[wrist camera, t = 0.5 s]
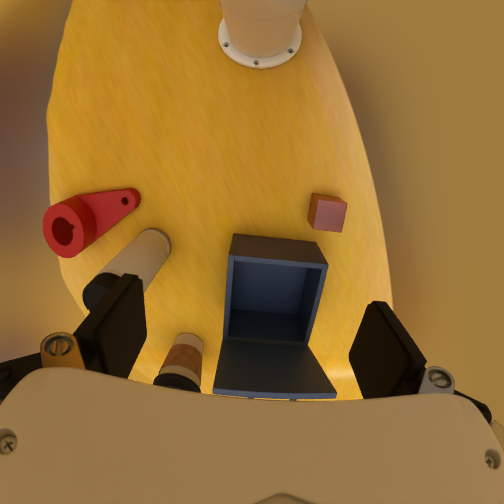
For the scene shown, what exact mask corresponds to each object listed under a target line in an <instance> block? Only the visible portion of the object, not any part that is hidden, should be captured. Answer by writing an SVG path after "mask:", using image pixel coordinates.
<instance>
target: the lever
mask: <svg viewBox="0 0 504 504" xmlns="http://www.w3.org/2000/svg"><path fill="white" fill-rule="evenodd" d="M127 198H128V200H129V202H128V201H127ZM140 199H141V198H140V194H139V192H138V191H137V190H135V189H133V188H126V189H117V190H110V191H102V192H95V193H88V194H81V195H76V196H73V197H71V198H68V199H66V200H64V201H61V202H59V203H57V204H54V205H52V206H51V207H50V208H49V209H48V210H47V211H46V213H45V215H44V219H43V232H44V236H45V239H46V241H47V243H48V245H49V247H50V248H51V249H52V250H53V251H54V252H55V253H56V254H57V255H59V256H61V257H63V258H72V257H74V256H76V255H77V254H79V253H80V252H81V251H83V250H84V249H85V248H86V247H88V246H89V245H90V244H92V243H93V242H94V241H96V240H97V239H98V238H99V237H100V236H102V235H103V234H104V233H105V232H106V231H108V230H109V229H110V228H111V227H113V226H114V225H115V224H116V223H117V222H119V221H120V220H121V219H122V218H124V217H125V216H126V215H127V214H129V213H130V212H131V211H133V210H134V209H135V208H136V207H138V205H139V204H140ZM73 224H74V225H73Z"/></svg>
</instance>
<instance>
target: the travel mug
mask: <svg viewBox="0 0 504 504" xmlns="http://www.w3.org/2000/svg"><path fill="white" fill-rule="evenodd" d="M170 252H171V243H170V240H169V238H168V237H167V235H166V234H165V233H164V232H162V231H161V230H159V229H155V228H149V229H146V230H144V231H142V232H141V233H140V234H139V235H138V236H137V237H136V238H135V239H134V240H132V241H131V242H130V243H129V244H128V245H127V246H126V247H125V248H124V249H123V250H122V251H121V252H120V253H119V254H117V255H116V256H115V257H114V258H113V259H112V260H111V261H110V262H109V263H108V264H107V265H106V266H105V267H104V268H103V269H102V270H101V271H100V272H99V273H98V274H97V275H96V276H95V277H94V279H93V280H92V281H91V282H90V283H89V284H88V285H87V286H86V287H85V288H84V290H83V295H82V296H83V302H84V305H85V306H86V308H87V310H88V309H89V311H90V312H91V311H92V310H93V309H94V307H95V306H96V305H97V304H98V303H99V301H100V300H101V299H102V298H103V297H104V296H105V294H106V293H107V292H108V291H109V290H110V289H111V287H112V286H113V285H114V284H115V283H116V282H117V281H118V279H119V278H120V277H121V276H122V275H123V274H124V273H129V274H135V275H138V276H139V279H142V281H143V292H145V291H146V289H147V288H148V286H149V285H150V283H151V281H152V280H153V278H154V277H155V275H156V274H157V272H158V271H159V269H160V268H161V266H162V265H163V264H164V262H165V261H166V259H167V258H168V256H169V255H170Z"/></svg>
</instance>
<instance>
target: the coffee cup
mask: <svg viewBox="0 0 504 504" xmlns="http://www.w3.org/2000/svg"><path fill="white" fill-rule="evenodd" d="M202 355H203V343H202V341H201V339H200V338H198V337H197V336H195V335H193V334H189V333H183V334H180V335H179V336H177V338H176V339H175V341H174V343H173V346H172V348H171V349H170V351H169V353H168V355H167V357H166V359H165V361H164V363H163V365H162V367H161V369H160V371H159V375H158V376H157V377H156V378H155V379H154V382H153V385H156V386H161V387H167V388H172V389H178V390H184V391H190V392H197V393H201V390H200V388H199V387H200V385H201V371H202Z"/></svg>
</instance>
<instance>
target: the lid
mask: <svg viewBox="0 0 504 504" xmlns="http://www.w3.org/2000/svg"><path fill="white" fill-rule="evenodd" d="M213 394H218V395H228V396H239V397H248V398H251V399H254V398H272V399H290V400H289V401H296V399H332V398H336V395H337V392H336V390H335V389H334V387H333V385H332V384H331V382H330V380H329V379H328V377H327V376H326V374H325V372H324V371H323V369H322V367H321V366H320V364H319V363H318V361H317V359H316V358H315V356H314V354H313V353H312V351H311V350H310V348H309V346H299V345H280V344H264V343H252V342H240V341H230V340H222V345H221V350H220V355H219V360H218V365H217V370H216V375H215V380H214V385H213Z"/></svg>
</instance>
